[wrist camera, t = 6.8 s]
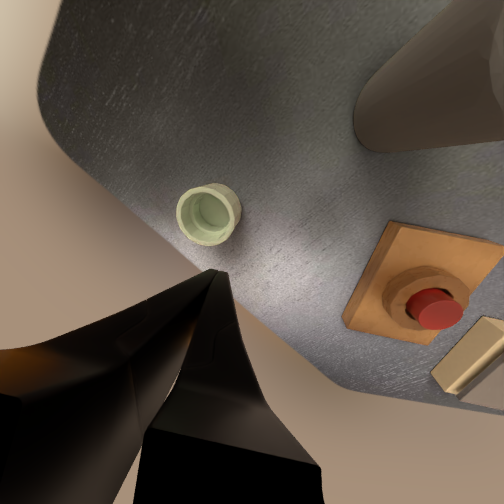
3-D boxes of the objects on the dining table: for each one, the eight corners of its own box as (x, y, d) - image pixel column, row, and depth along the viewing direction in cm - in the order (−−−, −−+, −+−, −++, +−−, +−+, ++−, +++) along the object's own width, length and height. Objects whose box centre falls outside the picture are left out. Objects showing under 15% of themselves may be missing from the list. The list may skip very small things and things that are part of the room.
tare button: (432, 318, 18) (448, 333, 16) (399, 311, 18) (411, 326, 16) (454, 291, 16) (473, 305, 15) (417, 284, 17) (432, 296, 15)
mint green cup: (238, 235, 20) (230, 251, 16) (194, 226, 20) (176, 240, 16) (245, 188, 18) (238, 193, 14) (196, 178, 18) (176, 181, 14)
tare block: (416, 332, 22) (439, 359, 19) (341, 316, 23) (352, 340, 20) (487, 239, 17) (534, 256, 14) (389, 220, 18) (414, 232, 14)
